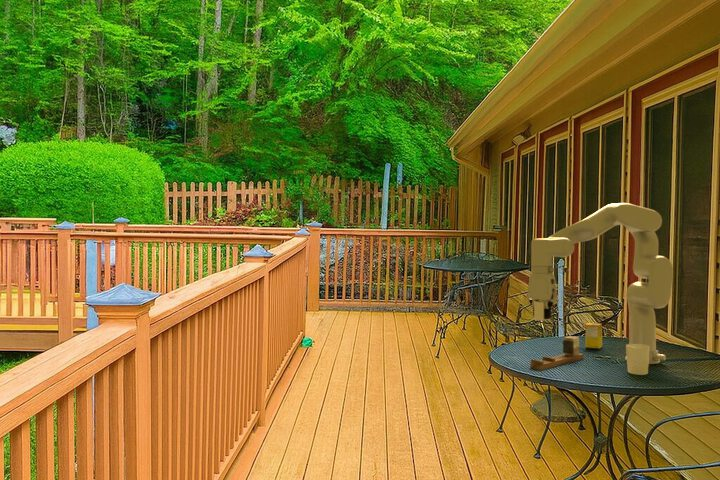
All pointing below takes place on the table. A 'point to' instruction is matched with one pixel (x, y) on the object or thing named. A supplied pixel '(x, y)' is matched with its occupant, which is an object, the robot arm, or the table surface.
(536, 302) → the cream brown block
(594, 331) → the supplement box
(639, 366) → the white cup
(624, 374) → the table surface
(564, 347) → the rail
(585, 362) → the table surface
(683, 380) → the table surface
